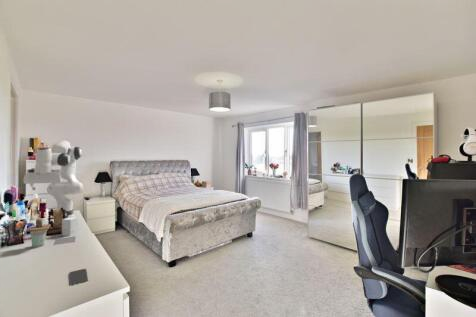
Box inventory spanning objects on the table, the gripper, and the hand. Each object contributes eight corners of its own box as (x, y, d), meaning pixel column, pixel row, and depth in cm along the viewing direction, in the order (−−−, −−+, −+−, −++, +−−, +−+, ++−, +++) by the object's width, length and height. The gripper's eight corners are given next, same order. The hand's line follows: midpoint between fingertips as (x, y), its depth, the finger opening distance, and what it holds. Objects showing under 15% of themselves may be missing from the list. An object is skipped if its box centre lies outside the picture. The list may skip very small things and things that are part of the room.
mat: (55, 239, 163) (55, 239, 163) (75, 236, 169) (75, 236, 169) (53, 245, 151) (53, 245, 151) (75, 242, 158) (75, 241, 158)
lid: (29, 227, 151) (29, 218, 151) (50, 225, 157) (50, 216, 157) (25, 232, 142) (26, 222, 142) (48, 229, 148) (48, 220, 148)
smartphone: (69, 285, 102) (68, 272, 114) (69, 287, 102) (68, 273, 114) (88, 280, 107) (86, 268, 118) (88, 282, 107) (86, 269, 118)
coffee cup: (36, 249, 144) (37, 230, 144) (26, 248, 146) (26, 229, 146) (49, 244, 152) (50, 227, 153) (39, 243, 154) (40, 226, 154)
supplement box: (77, 233, 178) (78, 217, 178) (70, 236, 170) (70, 219, 171) (69, 233, 179) (69, 217, 179) (61, 235, 171) (61, 219, 172)
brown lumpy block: (48, 237, 167) (49, 210, 168) (40, 233, 175) (41, 208, 176) (71, 232, 180) (72, 207, 181) (63, 229, 188) (64, 205, 188)
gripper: (62, 170, 167) (61, 188, 167) (25, 170, 155) (24, 189, 155) (61, 170, 162) (60, 189, 161) (23, 170, 150) (22, 190, 150)
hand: (42, 189), depth 158 cm, fingers open, 8 cm apart
